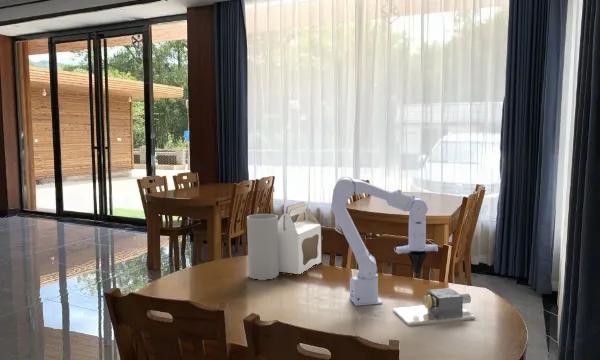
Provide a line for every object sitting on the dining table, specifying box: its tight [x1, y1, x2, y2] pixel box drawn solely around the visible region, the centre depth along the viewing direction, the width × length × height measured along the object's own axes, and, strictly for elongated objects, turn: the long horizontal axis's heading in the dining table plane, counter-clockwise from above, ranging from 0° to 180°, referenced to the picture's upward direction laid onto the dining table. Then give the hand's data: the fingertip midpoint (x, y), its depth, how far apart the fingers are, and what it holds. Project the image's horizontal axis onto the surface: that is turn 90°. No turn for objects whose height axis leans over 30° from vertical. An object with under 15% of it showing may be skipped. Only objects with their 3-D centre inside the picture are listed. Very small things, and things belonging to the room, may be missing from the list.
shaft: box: [422, 293, 472, 309], centre depth 150 cm, size 15×4×4 cm, turn 101°
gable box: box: [278, 201, 322, 275], centre depth 205 cm, size 22×13×28 cm, turn 152°
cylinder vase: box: [246, 213, 280, 281], centre depth 192 cm, size 12×12×25 cm
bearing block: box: [392, 287, 476, 327], centre depth 150 cm, size 22×12×7 cm, turn 101°
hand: (416, 272), depth 161 cm, fingers closed
